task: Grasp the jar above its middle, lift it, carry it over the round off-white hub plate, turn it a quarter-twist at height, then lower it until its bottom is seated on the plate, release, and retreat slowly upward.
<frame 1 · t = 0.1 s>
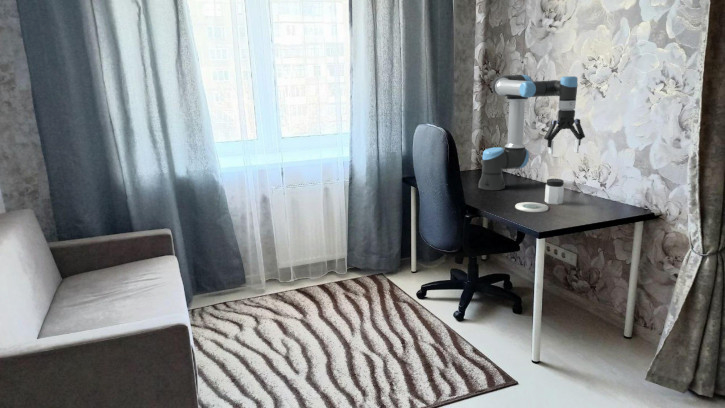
hand: (563, 153, 243), 28 cm above the table, fingers open, 13 cm apart
hub plate: (531, 207, 250), on the table
jar: (553, 202, 259), on the table
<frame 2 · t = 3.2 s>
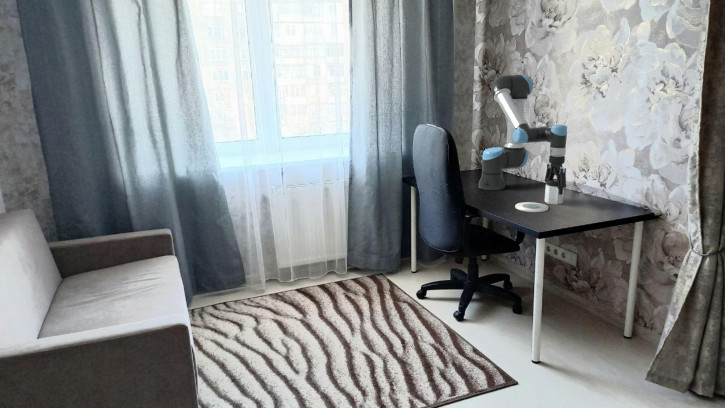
hand: (553, 197, 258), 2 cm above the table, fingers closed on jar, 9 cm apart
jar: (553, 202, 259), on the table, touching gripper
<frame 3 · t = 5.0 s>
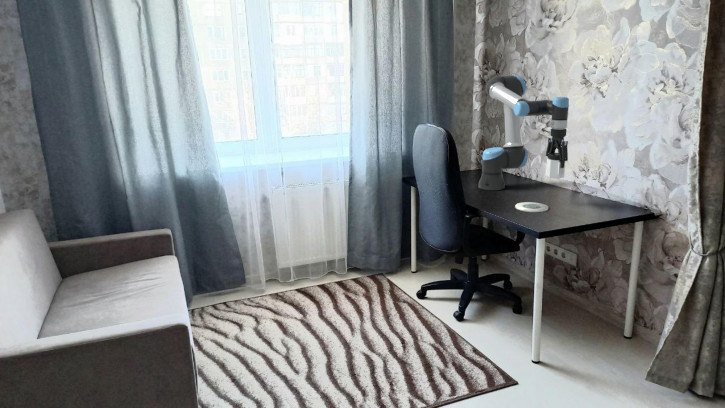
hand: (555, 172, 255), 16 cm above the table, fingers closed on jar, 9 cm apart
jar: (554, 177, 255), point 14 cm above the table, touching gripper
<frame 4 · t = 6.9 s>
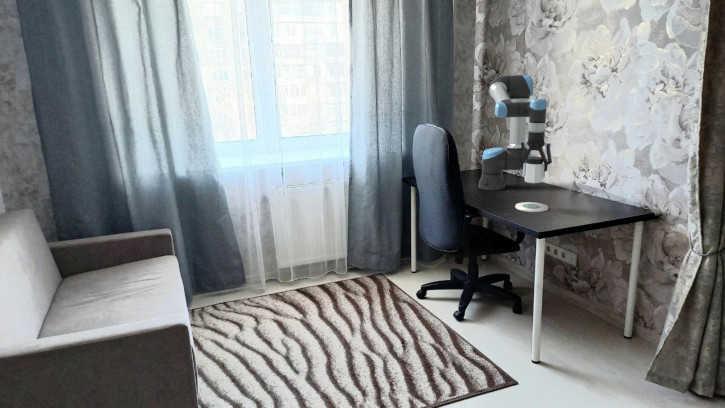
hand: (533, 176, 246), 16 cm above the table, fingers closed on jar, 9 cm apart
jar: (533, 181, 247), point 14 cm above the table, touching gripper
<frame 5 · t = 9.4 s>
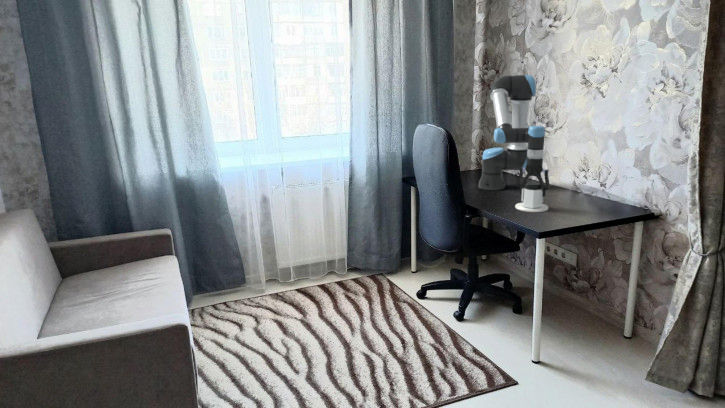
hand: (532, 201, 250), 3 cm above the table, fingers closed on jar, 9 cm apart
jar: (531, 206, 250), point 1 cm above the table, touching gripper
when the fingers open (3 cm above the table, at t = 10.9 s): jar stays where it is, resting on hub plate.
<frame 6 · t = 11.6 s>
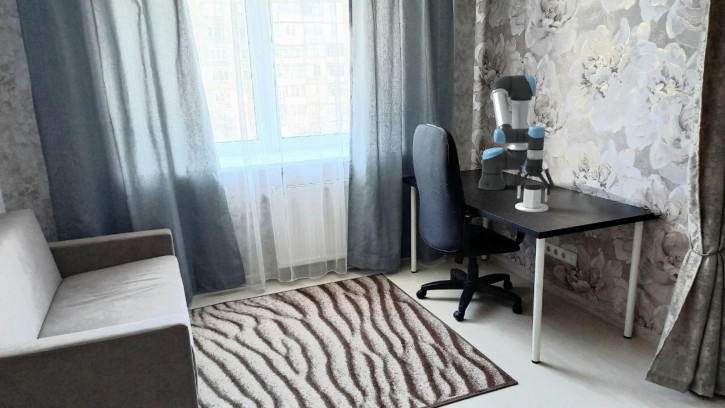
hand: (532, 199, 249), 4 cm above the table, fingers open, 13 cm apart
jar: (531, 206, 250), point 1 cm above the table, touching hub plate
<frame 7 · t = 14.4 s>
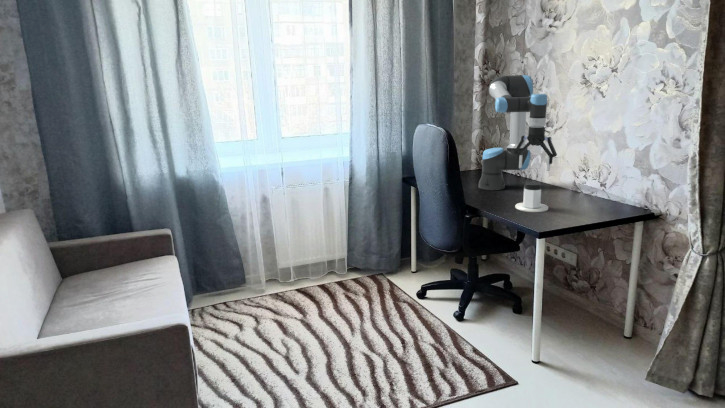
hand: (533, 169, 245), 20 cm above the table, fingers open, 13 cm apart
nothing on the table moved.
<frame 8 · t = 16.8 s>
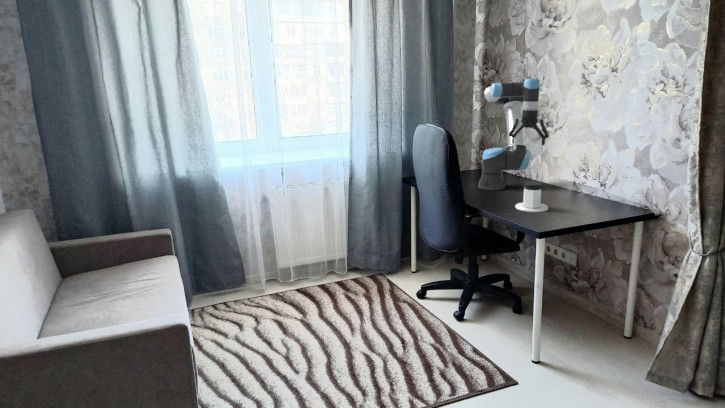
hand: (527, 150, 259), 27 cm above the table, fingers open, 13 cm apart
nothing on the table moved.
at the end: jar 0.1 cm from the hub plate (horizontally); jar tilted 0°; the gripper is holding nothing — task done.
